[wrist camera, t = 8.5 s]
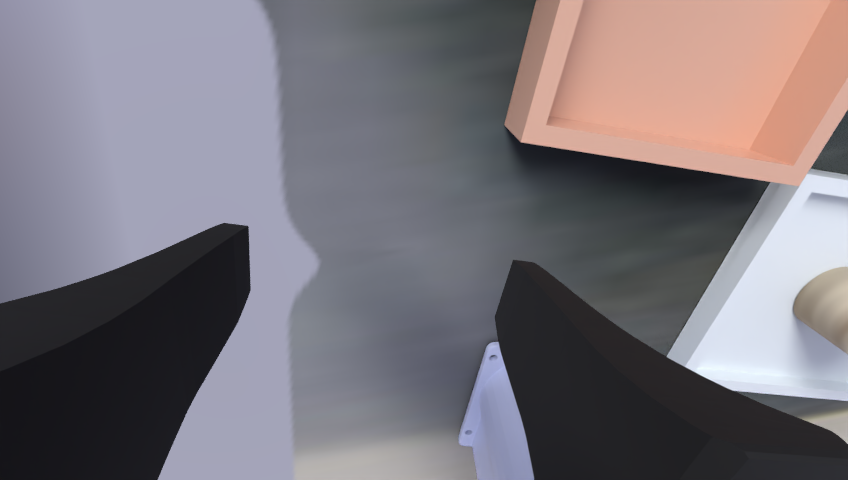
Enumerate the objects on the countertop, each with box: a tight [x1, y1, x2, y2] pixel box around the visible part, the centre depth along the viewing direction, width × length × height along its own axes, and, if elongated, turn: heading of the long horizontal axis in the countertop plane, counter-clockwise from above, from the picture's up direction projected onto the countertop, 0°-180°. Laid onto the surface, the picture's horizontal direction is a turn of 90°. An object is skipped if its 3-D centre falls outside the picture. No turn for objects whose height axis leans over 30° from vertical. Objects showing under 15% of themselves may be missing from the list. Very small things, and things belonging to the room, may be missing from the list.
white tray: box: [666, 169, 848, 401], centre depth 24 cm, size 14×14×2 cm
